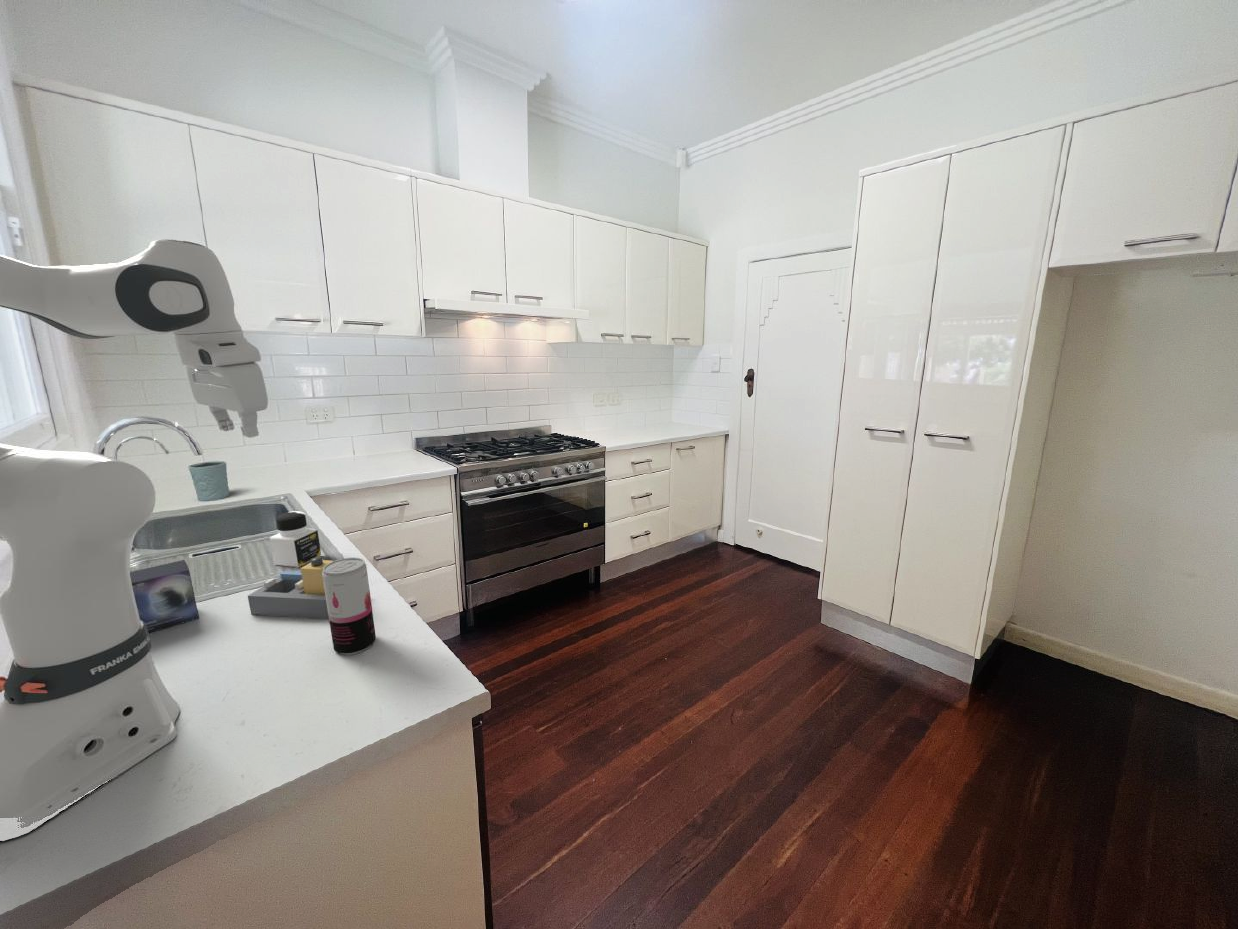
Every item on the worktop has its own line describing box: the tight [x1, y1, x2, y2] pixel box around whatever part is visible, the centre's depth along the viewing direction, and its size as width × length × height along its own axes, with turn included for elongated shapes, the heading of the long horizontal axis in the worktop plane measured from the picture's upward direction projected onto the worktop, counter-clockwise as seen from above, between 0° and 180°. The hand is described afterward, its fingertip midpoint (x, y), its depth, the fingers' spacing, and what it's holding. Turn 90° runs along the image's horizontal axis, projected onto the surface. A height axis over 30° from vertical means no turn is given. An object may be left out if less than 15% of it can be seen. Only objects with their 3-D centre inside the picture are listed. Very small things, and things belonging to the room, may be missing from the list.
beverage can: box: [322, 557, 377, 656], centre depth 85 cm, size 6×6×15 cm
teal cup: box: [188, 460, 230, 502], centre depth 172 cm, size 10×10×12 cm
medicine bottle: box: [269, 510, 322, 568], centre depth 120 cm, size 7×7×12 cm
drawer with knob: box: [300, 556, 334, 595], centre depth 99 cm, size 4×4×10 cm
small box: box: [130, 559, 200, 634], centre depth 93 cm, size 11×6×10 cm, turn 136°
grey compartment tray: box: [247, 570, 329, 620], centre depth 100 cm, size 9×16×5 cm, turn 84°
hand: (239, 433), depth 85 cm, fingers open, 8 cm apart
